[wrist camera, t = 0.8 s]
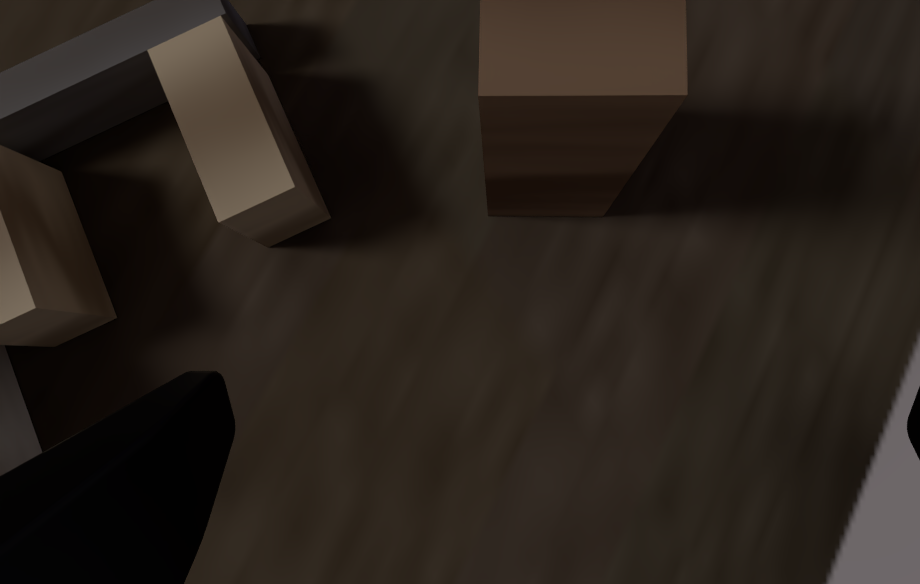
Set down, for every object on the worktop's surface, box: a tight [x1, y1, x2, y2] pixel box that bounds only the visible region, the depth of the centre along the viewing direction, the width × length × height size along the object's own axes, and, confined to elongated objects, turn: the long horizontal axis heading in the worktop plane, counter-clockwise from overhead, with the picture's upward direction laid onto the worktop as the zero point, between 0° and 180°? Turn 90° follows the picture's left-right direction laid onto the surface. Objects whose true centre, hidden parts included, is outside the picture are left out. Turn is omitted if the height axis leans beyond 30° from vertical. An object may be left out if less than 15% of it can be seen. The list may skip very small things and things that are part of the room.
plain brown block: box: [478, 0, 687, 217], centre depth 17 cm, size 4×4×10 cm
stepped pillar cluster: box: [0, 0, 331, 476], centre depth 20 cm, size 14×14×6 cm
